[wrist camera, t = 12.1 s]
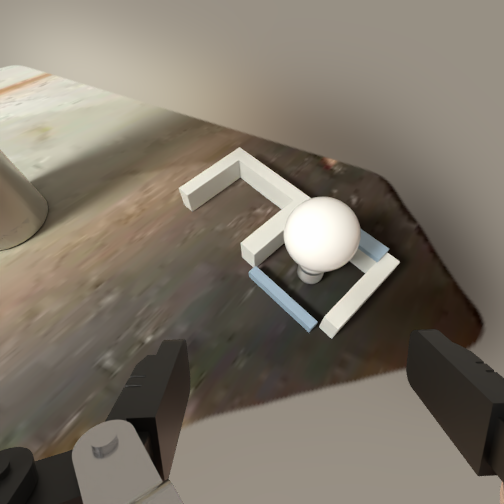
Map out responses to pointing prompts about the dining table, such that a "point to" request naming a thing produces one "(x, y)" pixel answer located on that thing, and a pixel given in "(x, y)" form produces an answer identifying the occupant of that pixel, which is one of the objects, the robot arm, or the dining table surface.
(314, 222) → the lightbulb
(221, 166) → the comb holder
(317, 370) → the dining table surface
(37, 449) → the dining table surface
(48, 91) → the dining table surface
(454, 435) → the robot arm
